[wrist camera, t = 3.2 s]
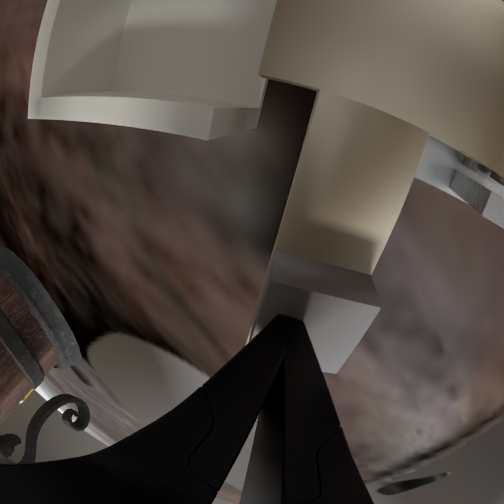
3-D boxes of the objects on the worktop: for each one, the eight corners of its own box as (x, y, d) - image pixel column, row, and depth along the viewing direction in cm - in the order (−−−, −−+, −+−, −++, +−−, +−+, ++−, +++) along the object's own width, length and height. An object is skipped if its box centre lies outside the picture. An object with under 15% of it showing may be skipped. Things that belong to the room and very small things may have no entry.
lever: (600, 134, 3) (630, 150, 1) (486, 367, 11) (499, 400, 9) (305, -77, 3) (305, -119, 1) (212, 320, 11) (195, 368, 9)
